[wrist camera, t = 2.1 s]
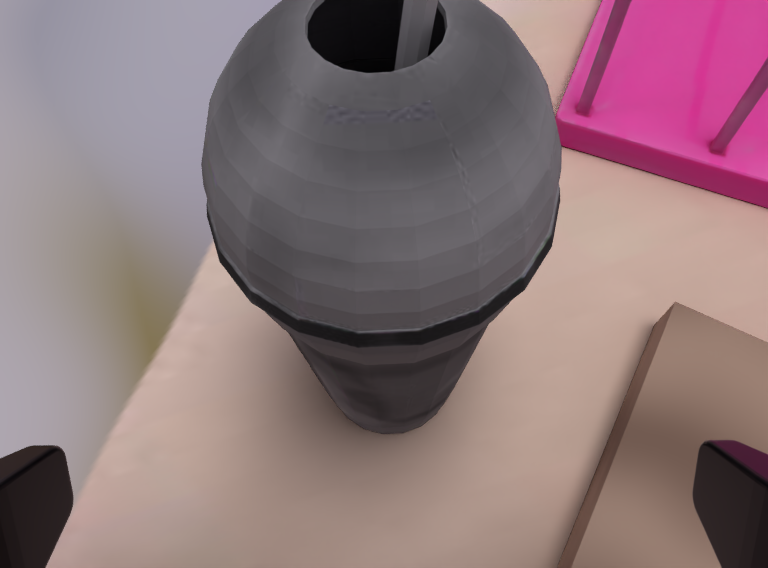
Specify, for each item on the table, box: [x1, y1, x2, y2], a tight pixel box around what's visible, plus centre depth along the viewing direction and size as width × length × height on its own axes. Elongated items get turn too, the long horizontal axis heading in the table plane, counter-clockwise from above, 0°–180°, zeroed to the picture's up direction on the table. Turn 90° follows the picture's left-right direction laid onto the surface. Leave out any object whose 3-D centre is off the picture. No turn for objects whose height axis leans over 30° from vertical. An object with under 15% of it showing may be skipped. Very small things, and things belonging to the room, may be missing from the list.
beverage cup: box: [202, 0, 562, 434], centre depth 14 cm, size 7×7×20 cm
